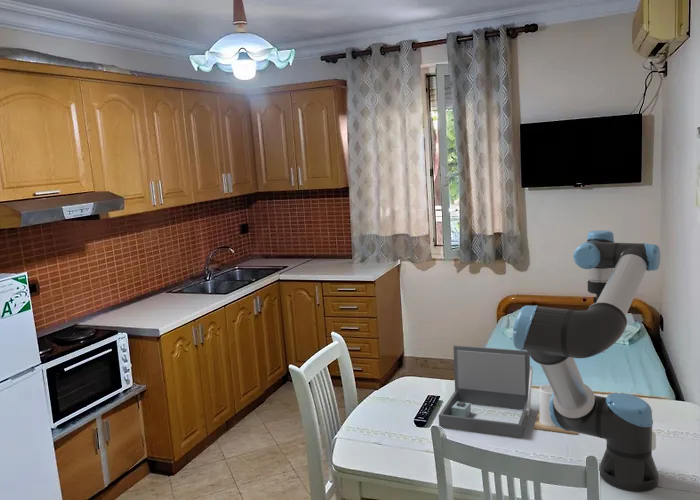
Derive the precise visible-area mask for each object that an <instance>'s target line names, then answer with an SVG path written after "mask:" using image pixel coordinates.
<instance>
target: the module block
mask: <svg viewBox="0 0 700 500" xmlns="http://www.w3.org/2000/svg"><path fill="white" fill-rule="evenodd" d="M471 405H472V404H470V403H465V402H460V401H457V402H456V403H455V404H454V405H453V406H452V407H451V408H452V412H451V415H452V416H459V417H467V418H469V416H470V415H471V413H472V412H471V409H472V408H471Z"/></svg>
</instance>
